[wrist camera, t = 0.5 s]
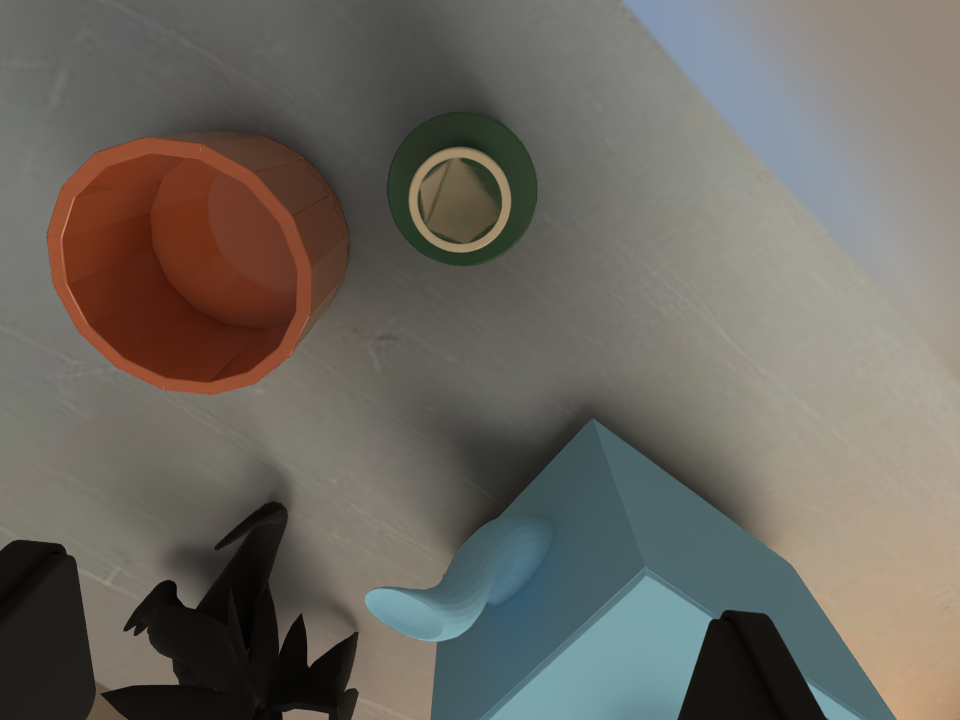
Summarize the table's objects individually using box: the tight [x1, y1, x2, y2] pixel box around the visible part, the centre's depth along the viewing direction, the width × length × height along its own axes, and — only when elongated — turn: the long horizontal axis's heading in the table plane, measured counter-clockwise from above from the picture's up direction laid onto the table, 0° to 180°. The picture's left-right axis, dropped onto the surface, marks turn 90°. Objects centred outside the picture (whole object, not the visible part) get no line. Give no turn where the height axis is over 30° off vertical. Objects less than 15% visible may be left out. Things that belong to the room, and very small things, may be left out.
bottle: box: [387, 111, 537, 266], centre depth 21 cm, size 4×4×10 cm
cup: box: [47, 131, 349, 395], centre depth 24 cm, size 9×9×6 cm
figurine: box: [101, 501, 359, 720], centre depth 29 cm, size 16×13×11 cm
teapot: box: [365, 418, 897, 720], centre depth 26 cm, size 22×11×14 cm, turn 52°
